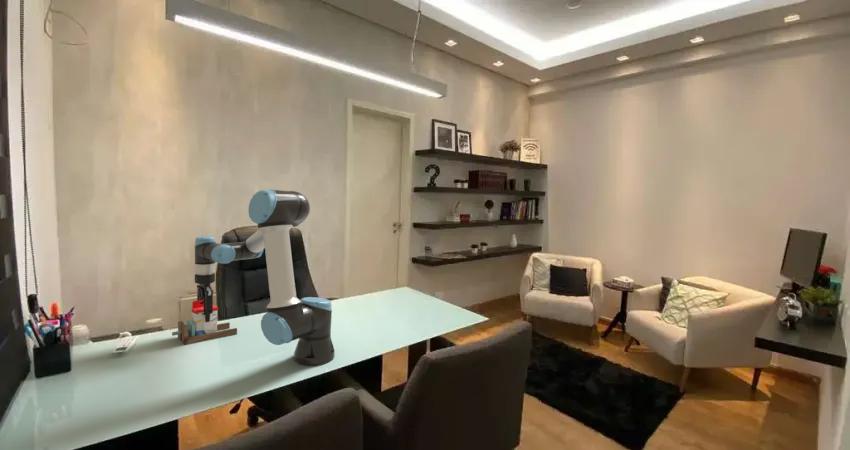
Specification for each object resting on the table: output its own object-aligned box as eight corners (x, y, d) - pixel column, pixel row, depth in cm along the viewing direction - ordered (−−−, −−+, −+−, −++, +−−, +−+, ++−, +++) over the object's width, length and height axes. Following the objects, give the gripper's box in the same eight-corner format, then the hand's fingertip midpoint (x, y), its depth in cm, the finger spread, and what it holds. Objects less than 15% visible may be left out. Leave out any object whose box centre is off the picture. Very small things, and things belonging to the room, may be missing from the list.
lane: (237, 334, 168) (237, 318, 167) (184, 345, 153) (184, 328, 153) (228, 327, 175) (228, 312, 174) (177, 337, 161) (178, 321, 160)
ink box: (196, 338, 158) (196, 303, 157) (191, 335, 161) (191, 301, 160) (217, 333, 165) (217, 300, 164) (212, 330, 168) (212, 297, 167)
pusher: (195, 340, 157) (195, 324, 157) (174, 345, 152) (174, 328, 152) (190, 335, 162) (190, 319, 162) (170, 339, 157) (170, 323, 157)
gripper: (222, 276, 157) (221, 331, 159) (208, 268, 170) (207, 319, 172) (201, 278, 152) (201, 335, 154) (188, 270, 165) (188, 323, 166)
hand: (204, 326), depth 163 cm, fingers closed on ink box, 5 cm apart
